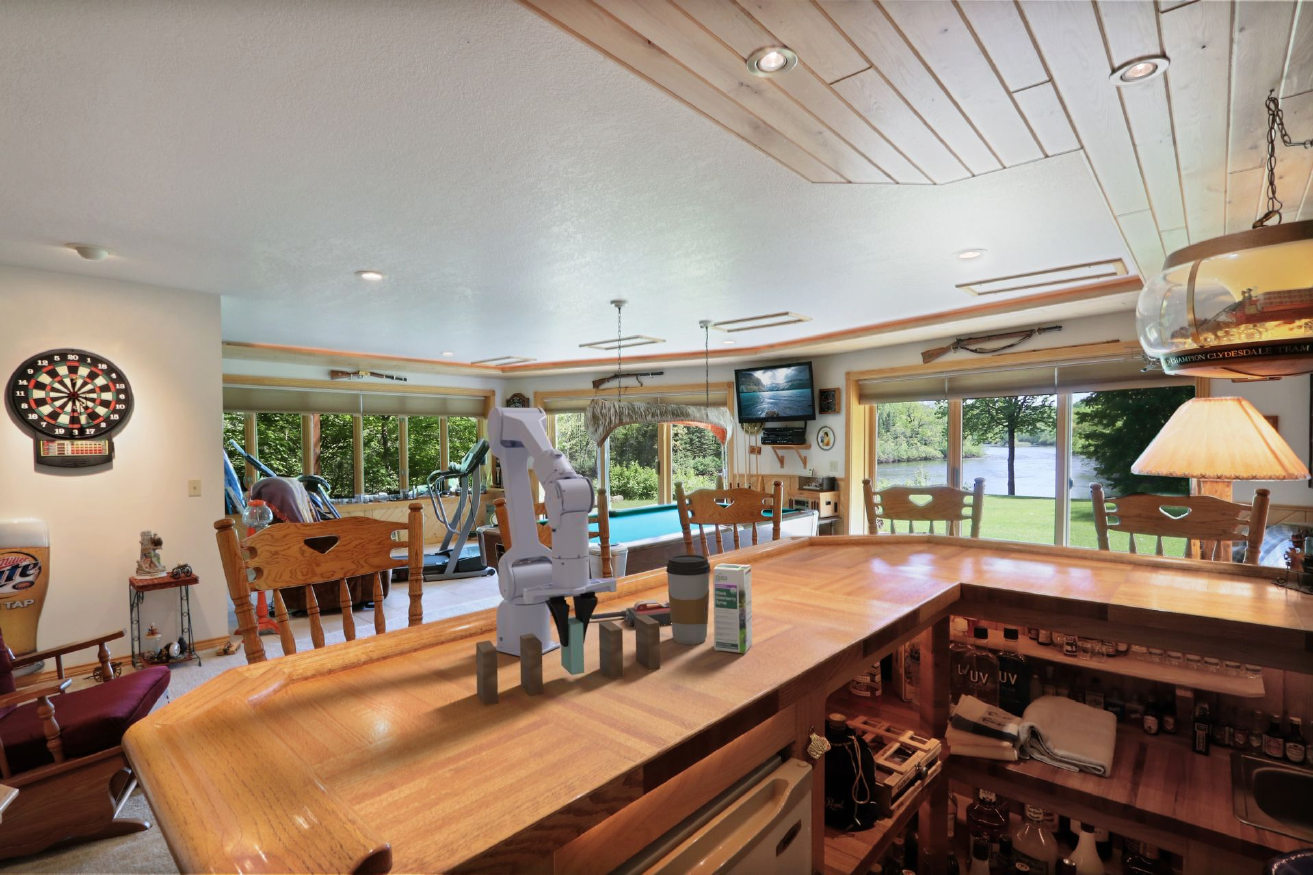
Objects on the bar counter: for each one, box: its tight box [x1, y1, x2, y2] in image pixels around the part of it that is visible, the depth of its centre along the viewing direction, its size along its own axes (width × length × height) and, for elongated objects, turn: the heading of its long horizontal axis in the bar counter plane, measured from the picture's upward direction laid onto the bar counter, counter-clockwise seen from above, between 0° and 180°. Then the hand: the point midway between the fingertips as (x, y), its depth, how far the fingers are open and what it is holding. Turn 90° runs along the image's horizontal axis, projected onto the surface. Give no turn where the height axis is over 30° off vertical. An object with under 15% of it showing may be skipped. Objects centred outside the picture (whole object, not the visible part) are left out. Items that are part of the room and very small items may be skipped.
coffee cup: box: [665, 554, 712, 645], centre depth 112 cm, size 8×8×15 cm
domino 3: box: [560, 615, 585, 676], centre depth 94 cm, size 2×5×8 cm, turn 27°
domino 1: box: [475, 639, 499, 707], centre depth 88 cm, size 2×5×8 cm, turn 27°
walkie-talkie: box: [590, 599, 672, 628], centre depth 124 cm, size 9×4×20 cm
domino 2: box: [519, 633, 544, 697], centre depth 91 cm, size 2×5×8 cm, turn 27°
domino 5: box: [634, 615, 661, 672], centre depth 100 cm, size 2×5×8 cm, turn 27°
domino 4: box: [598, 620, 624, 680], centre depth 97 cm, size 2×5×8 cm, turn 27°
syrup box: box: [712, 563, 753, 655], centre depth 108 cm, size 6×6×14 cm
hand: (572, 643), depth 94 cm, fingers closed on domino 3, 2 cm apart
